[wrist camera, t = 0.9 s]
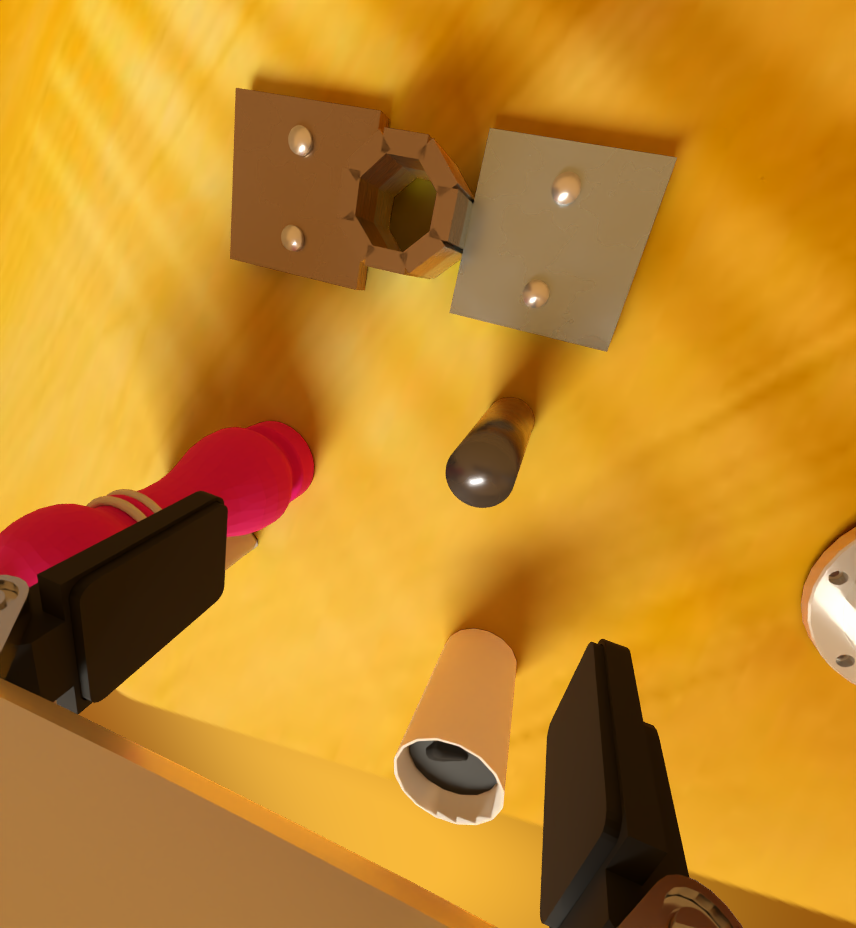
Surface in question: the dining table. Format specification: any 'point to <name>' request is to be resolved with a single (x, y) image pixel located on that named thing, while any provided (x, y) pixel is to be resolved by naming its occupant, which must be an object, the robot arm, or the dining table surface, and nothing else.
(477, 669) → the paper coffee cup
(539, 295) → the hinge
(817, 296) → the dining table surface
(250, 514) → the pepper mill
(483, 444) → the hinge pin
